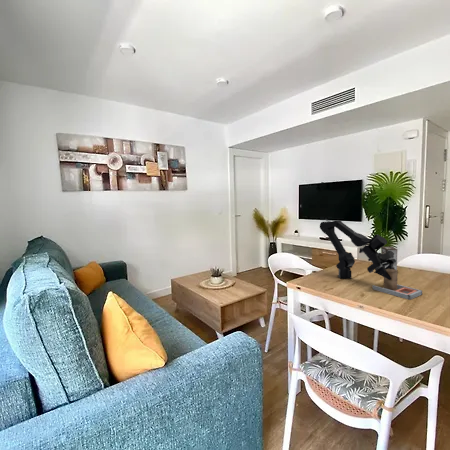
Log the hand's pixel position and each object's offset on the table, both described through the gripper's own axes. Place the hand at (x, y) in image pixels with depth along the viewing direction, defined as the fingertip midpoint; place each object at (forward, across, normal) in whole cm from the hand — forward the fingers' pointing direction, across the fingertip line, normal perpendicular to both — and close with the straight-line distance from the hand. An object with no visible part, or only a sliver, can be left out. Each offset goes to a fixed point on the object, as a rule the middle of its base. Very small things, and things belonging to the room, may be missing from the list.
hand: (393, 278), depth 132 cm
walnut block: (+4, 0, +6) cm, 7 cm away
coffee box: (-9, +33, +19) cm, 39 cm away
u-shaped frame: (+6, 0, +4) cm, 7 cm away
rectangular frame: (+9, 0, 0) cm, 9 cm away
